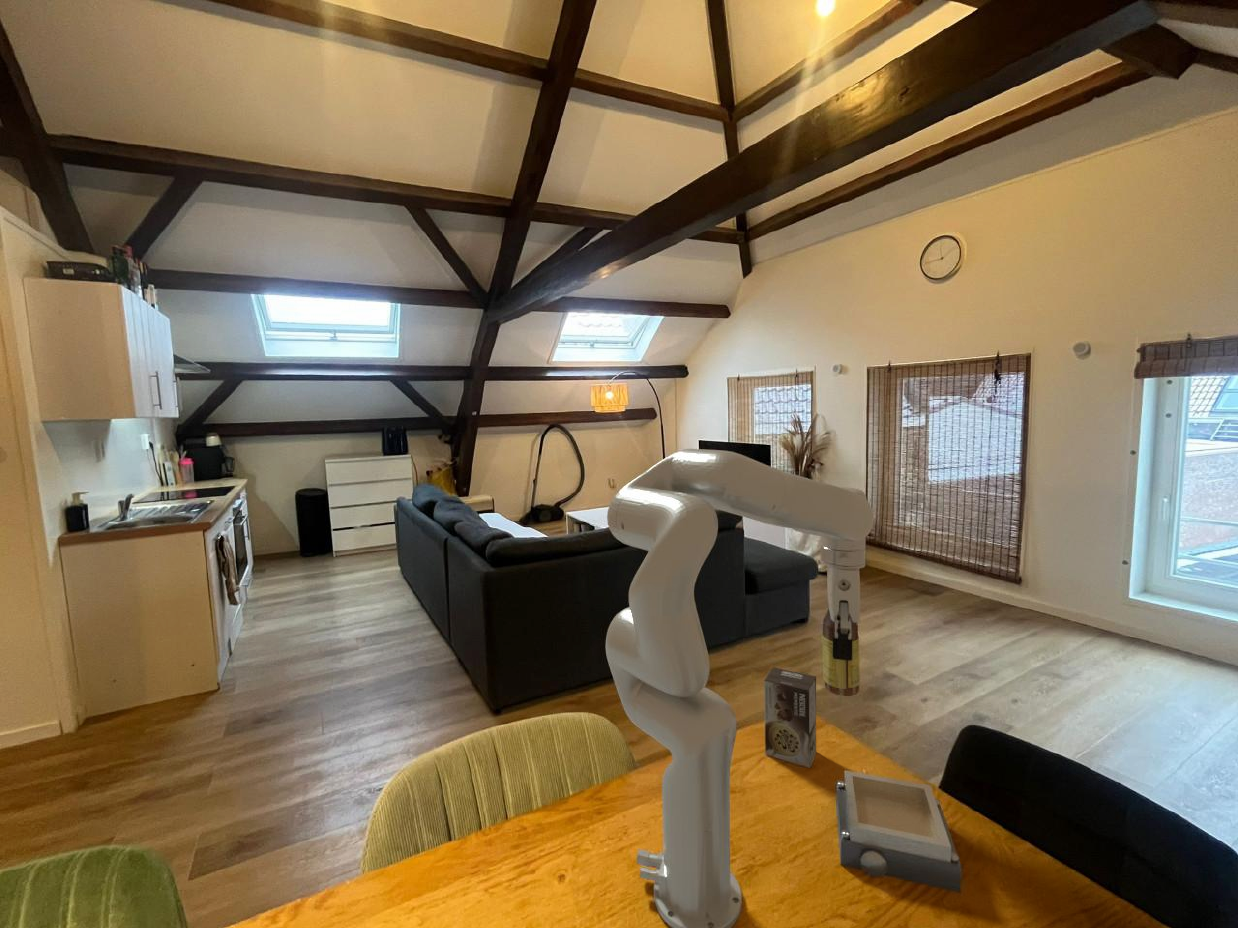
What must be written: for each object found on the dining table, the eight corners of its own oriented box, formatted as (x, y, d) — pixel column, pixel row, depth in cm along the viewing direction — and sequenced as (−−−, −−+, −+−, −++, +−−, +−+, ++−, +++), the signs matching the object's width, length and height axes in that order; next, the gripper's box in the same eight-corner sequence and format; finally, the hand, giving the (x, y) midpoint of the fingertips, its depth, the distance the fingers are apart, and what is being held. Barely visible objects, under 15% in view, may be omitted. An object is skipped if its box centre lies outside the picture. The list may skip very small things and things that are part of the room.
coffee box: (817, 751, 110) (817, 675, 109) (809, 769, 105) (810, 690, 103) (772, 737, 115) (772, 665, 113) (763, 754, 110) (763, 678, 108)
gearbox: (841, 870, 82) (841, 830, 81) (835, 801, 96) (836, 767, 95) (962, 898, 77) (964, 856, 76) (937, 821, 91) (939, 785, 90)
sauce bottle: (853, 681, 103) (854, 580, 101) (864, 698, 97) (866, 591, 95) (817, 680, 104) (819, 580, 102) (827, 697, 97) (828, 590, 96)
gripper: (870, 570, 88) (868, 675, 90) (860, 545, 105) (858, 634, 106) (822, 567, 91) (820, 669, 93) (819, 543, 107) (818, 630, 109)
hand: (840, 649), depth 100 cm, fingers closed on sauce bottle, 6 cm apart
